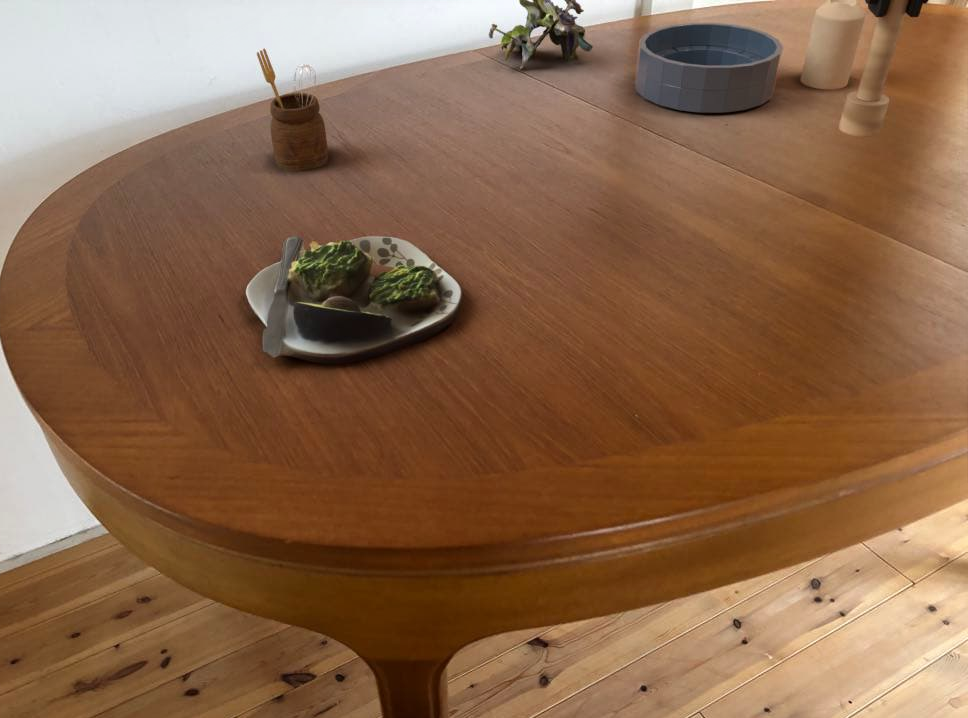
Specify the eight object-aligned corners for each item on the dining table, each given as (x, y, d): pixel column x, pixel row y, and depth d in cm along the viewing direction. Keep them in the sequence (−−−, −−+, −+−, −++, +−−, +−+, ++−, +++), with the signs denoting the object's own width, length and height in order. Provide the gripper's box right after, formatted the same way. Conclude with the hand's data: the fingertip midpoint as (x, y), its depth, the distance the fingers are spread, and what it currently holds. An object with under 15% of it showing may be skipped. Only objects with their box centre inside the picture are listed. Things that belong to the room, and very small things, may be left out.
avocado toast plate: (209, 278, 80) (198, 233, 77) (386, 227, 86) (383, 183, 83) (283, 394, 67) (273, 344, 64) (487, 325, 73) (487, 276, 70)
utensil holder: (313, 178, 95) (298, 65, 88) (263, 170, 98) (244, 59, 90) (339, 156, 100) (326, 46, 92) (290, 149, 102) (274, 41, 94)
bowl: (759, 70, 115) (768, 22, 111) (783, 119, 102) (795, 67, 98) (630, 70, 117) (635, 23, 113) (639, 119, 104) (645, 67, 100)
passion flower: (564, 100, 124) (615, 37, 114) (505, 106, 118) (554, 40, 108) (528, 36, 126) (575, -31, 116) (469, 38, 120) (513, -32, 110)
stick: (874, 122, 84) (929, -66, 73) (884, 137, 81) (943, -56, 71) (834, 121, 84) (883, -65, 74) (843, 137, 81) (896, -55, 71)
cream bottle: (835, 96, 107) (857, 8, 101) (791, 86, 110) (810, 1, 104) (854, 82, 110) (876, -3, 104) (811, 73, 113) (830, -10, 107)
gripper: (867, -247, 62) (805, 26, 74) (1110, -255, 60) (1007, 26, 72) (841, -254, 68) (787, 0, 80) (1063, -262, 66) (974, -1, 78)
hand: (892, 10), depth 76 cm, fingers closed on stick, 2 cm apart
